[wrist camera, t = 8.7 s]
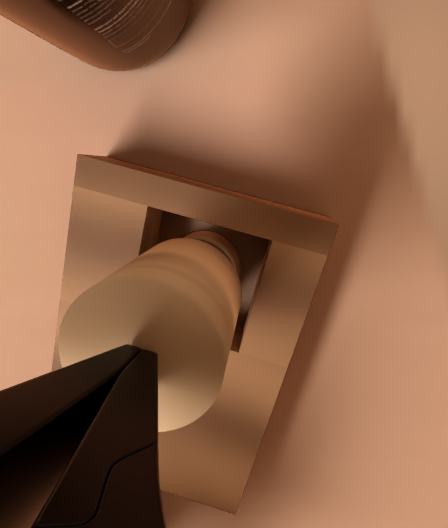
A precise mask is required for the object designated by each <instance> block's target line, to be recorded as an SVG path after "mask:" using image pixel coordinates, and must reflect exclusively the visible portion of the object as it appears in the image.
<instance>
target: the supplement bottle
mask: <svg viewBox="0 0 448 528" xmlns="http://www.w3.org/2000/svg"><path fill="white" fill-rule="evenodd" d="M191 4H192V0H0V15H2V16H4V17H6V18H7V19H9V20H11V21H13V22H14V23H16V24H18V25H20V26H21V27H23V28H25V29H27V30H28V31H30V32H32V33H34V34H35V35H37V36H39V37H41V38H42V39H44V40H46V41H48V42H49V43H51V44H53V45H55V46H56V47H58V48H60V49H62V50H63V51H65V52H67V53H69V54H70V55H73V56H74V57H76V58H78V59H80V60H82V61H83V62H85V63H88V64H90V65H92V66H95V67H97V68H100V69H104V70H109V71H127V70H133V69H137V68H140V67H143V66H145V65H147V64H149V63H151V62H153V61H154V60H156V59H157V58H159V57H160V56H161V55H162V54H164V53H165V52H166V51H167V50H168V49H169V48H170V46H171V45H172V44H173V43H174V41H175V40H176V39H177V37H178V36H179V34H180V32H181V30H182V29H183V27H184V24H185V22H186V20H187V17H188V14H189V11H190V8H191Z"/></svg>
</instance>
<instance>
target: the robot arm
mask: <svg viewBox="0 0 448 528" xmlns="http://www.w3.org/2000/svg"><path fill="white" fill-rule="evenodd" d="M0 528H166V524H165V518H164V512H163V506H162V498H161V490H160V481H159V448H158V354H157V353H156V352H153V351H149V350H146V349H143V350H141V348H139V347H136V346H133V345H129V344H125V345H122V346H120V347H117V348H114V349H112V350H109V351H106V352H103V353H101V354H98V355H95V356H93V357H90V358H87V359H85V360H82V361H79V362H77V363H74V364H71V365H69V366H66V367H63V368H60V369H58V370H55V371H52V372H50V373H47V374H44V375H42V376H39V377H36V378H34V379H31V380H28V381H26V382H23V383H20V384H17V385H15V386H12V387H9V388H7V389H4V390H1V391H0Z"/></svg>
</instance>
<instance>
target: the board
mask: <svg viewBox="0 0 448 528" xmlns="http://www.w3.org/2000/svg"><path fill="white" fill-rule="evenodd" d="M163 210H164V211H168V212H171V213H175V214H178V215H182V216H186V217H189V218H193V219H196V220H200V221H204V222H207V223H211V224H215V225H218V226H222V227H225V228H229V229H233V230H236V231H240V232H243V233H247V234H251V235H254V236H258V237H261V238H265V239H269V243H268V247H267V250H266V253H265V257H264V260H263V263H262V267H261V270H260V273H259V277H258V280H257V283H256V287H255V290H254V293H253V297H252V300H251V303H250V307H249V310H248V313H247V317H246V320H245V323H244V327H243V328H240V327H235V331H234V335H233V340H232V344H231V348H230V353H229V357H228V361H227V365H226V370H225V374H224V378H223V383H222V386H221V389H220V392H219V394H218V396H217V398H216V399H215V401H214V403H213V404H212V405H211V407H210V408H209V409H208V410H207V411H206V412H205V413H204V414H203V415H202V416H201V417H200V418H198V419H197V420H195V421H194V422H192V423H190V424H188V425H186V426H184V427H181V428H178V429H175V430H170V431H166V432H158V448H159V481H160V490H162V491H165V492H168V493H171V494H174V495H177V496H180V497H183V498H186V499H189V500H192V501H195V502H198V503H201V504H204V505H208V506H211V507H214V508H217V509H220V510H223V511H226V512H229V513H232V514H236V511H237V508H238V505H239V503H240V500H241V497H242V494H243V491H244V489H245V486H246V483H247V480H248V477H249V475H250V472H251V469H252V466H253V463H254V461H255V458H256V455H257V452H258V449H259V447H260V444H261V441H262V438H263V435H264V433H265V430H266V427H267V424H268V421H269V419H270V416H271V413H272V410H273V407H274V405H275V402H276V399H277V396H278V393H279V391H280V388H281V385H282V382H283V379H284V377H285V374H286V371H287V368H288V365H289V363H290V360H291V357H292V354H293V351H294V349H295V346H296V343H297V340H298V337H299V335H300V332H301V329H302V326H303V323H304V321H305V318H306V315H307V312H308V309H309V307H310V304H311V301H312V298H313V295H314V293H315V290H316V287H317V284H318V281H319V279H320V276H321V273H322V270H323V267H324V265H325V262H326V259H327V256H328V253H329V251H330V248H331V245H332V242H333V239H334V237H335V234H336V231H337V228H338V224H337V223H335V222H334V221H333V220H332V219H330V218H329V217H327V216H324V215H320V214H316V213H313V212H309V211H305V210H301V209H298V208H294V207H290V206H287V205H283V204H279V203H276V202H272V201H268V200H264V199H261V198H257V197H253V196H250V195H246V194H242V193H239V192H235V191H231V190H228V189H224V188H220V187H216V186H213V185H209V184H205V183H202V182H198V181H194V180H191V179H187V178H183V177H179V176H176V175H172V174H168V173H165V172H161V171H157V170H154V169H150V168H146V167H142V166H139V165H135V164H131V163H128V162H124V161H120V160H117V159H113V158H109V157H106V156H93V155H81V154H77V163H76V171H75V180H74V188H73V196H72V205H71V213H70V221H69V230H68V238H67V247H66V255H65V263H64V272H63V280H62V288H61V297H60V305H59V314H58V322H57V330H56V339H55V347H54V356H53V364H52V371H55V370H58V369H60V368H62V365H61V362H60V357H59V349H58V338H59V331H60V326H61V323H62V320H63V317H64V315H65V313H66V312H67V310H68V308H69V307H70V305H71V304H72V303H73V301H74V300H75V299H76V298H77V297H78V296H79V295H80V294H81V293H83V292H84V291H86V290H87V289H89V288H90V287H92V286H93V285H95V284H96V283H98V282H99V281H101V280H102V279H104V278H106V277H107V276H109V275H110V274H112V273H113V272H115V271H117V270H118V269H120V268H121V267H123V266H124V265H126V264H127V263H129V262H131V261H132V260H134V259H135V258H137V257H138V256H140V255H141V254H143V253H145V252H146V251H148V250H149V249H151V248H152V247H154V246H155V245H157V240H158V235H159V230H160V225H161V220H162V215H163Z"/></svg>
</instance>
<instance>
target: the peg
mask: <svg viewBox="0 0 448 528" xmlns="http://www.w3.org/2000/svg"><path fill="white" fill-rule="evenodd" d="M239 274H240V259H239V256H238V253H237V251H236V249H235V247H234V246H233V245H232V244H231V242H230V241H229V240H227V239H226V238H225V237H223V236H222V235H220V234H218V233H215V232H211V231H196V232H193V233H190V234H188V235H186V236H185V237H183V238H175V239H170V240H167V241H164V242H161V243H159V244H157V245H155V246H154V247H152V248H151V249H149V250H148V251H146V252H145V253H143V254H141V255H140V256H138V257H137V258H135V259H134V260H132V261H131V262H129V263H127V264H126V265H124V266H123V267H121V268H120V269H118V270H117V271H115V272H113V273H112V274H110V275H109V276H107V277H106V278H104V279H102V280H101V281H99V282H98V283H96V284H95V285H93V286H92V287H90V288H89V289H87V290H86V291H84V292H83V293H81V294H80V295H79V296H78V297H77V298H76V299H75V300H74V301H73V303H72V304H71V305H70V307H69V308H68V310H67V312H66V313H65V315H64V317H63V320H62V323H61V326H60V331H59V338H58V349H59V357H60V362H61V365H62V368H63V367H66V366H69V365H71V364H74V363H77V362H79V361H82V360H85V359H87V358H90V357H93V356H95V355H98V354H101V353H103V352H106V351H109V350H112V349H114V348H117V347H120V346H122V345H125V344H129V345H133V346H136V347H139V348H141V350H143V349H146V350H149V351H153V352H156V353H157V354H158V432H166V431H170V430H175V429H178V428H181V427H184V426H186V425H188V424H190V423H192V422H194V421H195V420H197V419H198V418H200V417H201V416H202V415H203V414H204V413H205V412H206V411H207V410H208V409H209V408H210V407H211V405H212V404H213V403H214V401H215V399H216V398H217V396H218V394H219V392H220V389H221V386H222V383H223V378H224V374H225V370H226V365H227V361H228V357H229V353H230V348H231V344H232V340H233V335H234V331H235V327H236V322H237V318H238V314H239V309H240V305H241V297H242V292H241V284H240V280H239Z"/></svg>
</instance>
